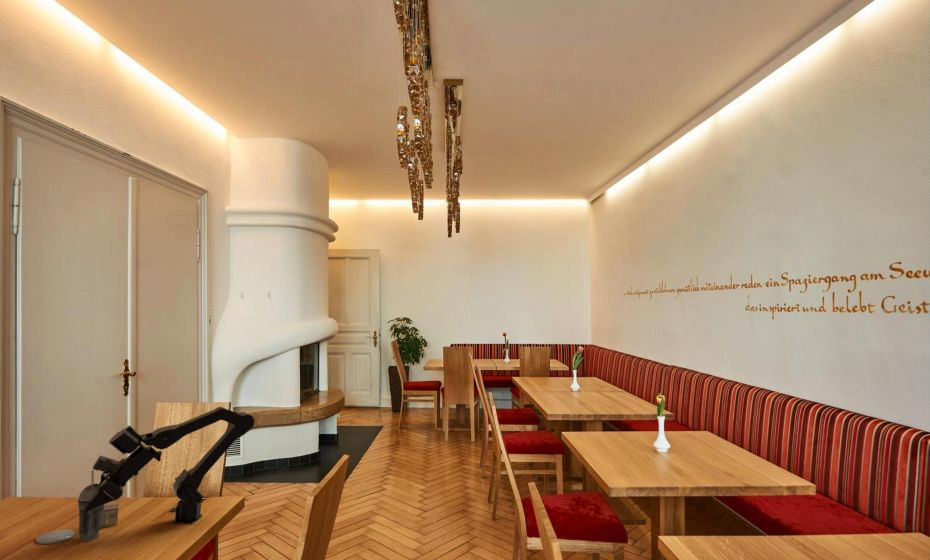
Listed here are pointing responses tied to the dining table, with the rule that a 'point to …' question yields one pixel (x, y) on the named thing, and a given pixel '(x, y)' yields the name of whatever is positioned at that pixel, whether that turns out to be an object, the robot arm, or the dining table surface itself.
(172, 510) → the smartphone
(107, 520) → the letter block
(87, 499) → the beverage cup
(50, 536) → the grey coaster
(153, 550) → the dining table surface
